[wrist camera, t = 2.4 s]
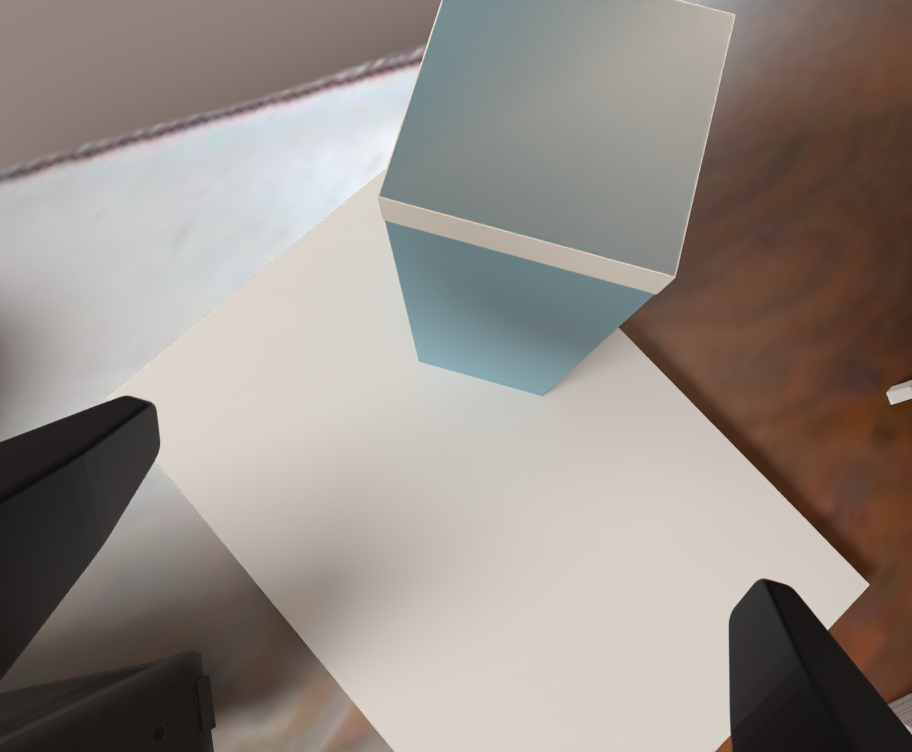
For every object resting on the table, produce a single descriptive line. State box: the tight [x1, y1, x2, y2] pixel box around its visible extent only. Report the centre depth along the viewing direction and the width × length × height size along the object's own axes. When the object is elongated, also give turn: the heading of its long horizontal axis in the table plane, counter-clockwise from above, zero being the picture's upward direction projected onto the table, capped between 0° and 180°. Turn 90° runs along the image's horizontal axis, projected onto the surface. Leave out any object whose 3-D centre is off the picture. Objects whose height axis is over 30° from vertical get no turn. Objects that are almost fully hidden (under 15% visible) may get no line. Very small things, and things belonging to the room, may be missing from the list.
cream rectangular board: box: [105, 168, 869, 752], centre depth 21 cm, size 22×15×1 cm
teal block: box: [377, 0, 736, 396], centre depth 15 cm, size 4×4×12 cm
